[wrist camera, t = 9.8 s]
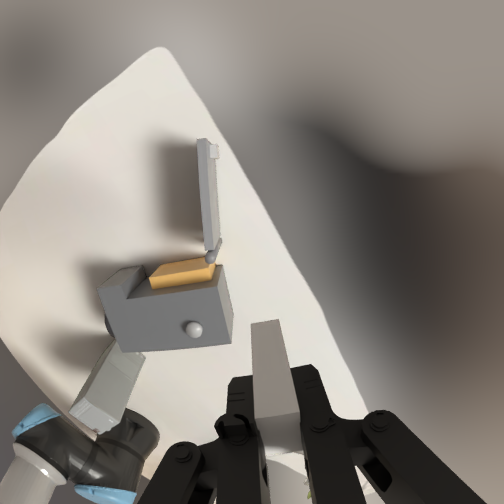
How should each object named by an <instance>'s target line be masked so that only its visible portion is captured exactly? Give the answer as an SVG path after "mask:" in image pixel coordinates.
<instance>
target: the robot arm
mask: <svg viewBox="0 0 504 504" xmlns="http://www.w3.org/2000/svg"><path fill="white" fill-rule="evenodd" d="M251 344H252V368H253V375H249V376H242V377H234V378H233V379H232V380H231V382H230V383H229V385H228V396H227V409H226V414H224V415H222V416H220V417H219V418H218V420H217V421H216V423H215V425H214V427H215V429H216V432H217V434H218V436H219V438H218V439H216V440H215V441H212V442H210V443H207V444H203V445H200V446H197V445H196V444H194V443H191V442H179V443H175V444H174V445H172V446H171V447H170V448H169V449H168V450H167V452H166V453H165V455H164V457H163V459H162V461H161V462H160V464H159V466H158V468H157V470H156V471H155V473H154V475H153V477H152V479H151V480H150V482H149V484H148V486H147V487H146V489H145V491H144V493H143V494H142V496H141V498H140V500H139V502H138V503H137V504H213V503H214V501H215V498H216V504H271V502H270V490H269V478H268V467H267V464H266V457H265V454H266V456H271V455H278V454H285V453H291V452H297V451H302V450H303V452H304V459H305V469H306V471H307V476H308V482H309V487H310V492H311V498H312V503H313V504H366V501H365V497H364V494H363V491H362V488H361V485H360V482H359V479H358V475H357V472H356V469H355V466H357V467H358V468H359V469H360V471H361V472H362V473H363V475H364V476H365V477H366V479H367V480H368V481H369V483H370V484H371V485H372V487H373V488H374V489H375V491H376V492H377V493H378V494H379V496H380V497H381V499H382V500H383V501H384V502H385V504H487V503H485V502H484V501H483V500H482V499H481V498H480V497H479V496H478V495H477V494H476V493H475V492H474V491H473V490H472V489H471V488H470V487H468V486H467V485H466V484H465V483H464V482H463V481H462V480H461V479H460V478H459V477H458V476H457V475H456V474H455V473H454V472H453V471H452V470H451V469H450V468H449V467H448V466H447V465H445V464H444V463H443V462H442V461H441V460H440V459H439V458H438V457H437V456H436V455H435V454H434V453H433V452H432V451H431V450H430V449H429V448H428V447H427V446H426V445H425V444H424V443H423V442H422V441H421V440H420V439H419V438H418V437H417V436H416V435H415V434H414V433H413V432H412V431H411V430H410V429H408V427H407V426H406V425H405V424H404V423H403V422H402V421H401V420H400V419H399V418H398V417H397V416H396V415H395V414H393V413H391V412H390V411H386V410H376V411H374V412H371V413H369V414H368V415H367V416H365V418H364V419H362V420H347V419H343V418H340V417H338V416H337V415H336V414H335V413H333V411H332V409H331V406H330V403H329V400H328V397H327V394H326V392H325V389H324V386H323V383H322V380H321V377H320V375H319V372H318V370H317V369H316V368H315V367H314V366H313V365H311V364H309V365H304V366H299V367H294V368H290V366H289V362H288V357H287V353H286V348H285V344H284V340H283V335H282V331H281V327H280V322H279V319H276V320H271V321H265V322H259V323H252V324H251ZM12 435H13V436H14V438H15V439H16V441H15V442H14V444H13V448H14V451H15V454H16V457H15V458H14V460H13V462H12V464H11V465H10V467H9V469H8V471H7V473H6V474H5V476H4V478H3V480H2V482H1V483H0V504H48V503H49V500H50V498H51V495H52V493H53V491H54V488H55V486H57V485H63V484H66V482H67V480H68V479H69V480H70V481H72V482H73V483H75V485H74V487H75V491H76V492H77V493H78V494H80V495H81V496H83V497H85V498H87V499H89V500H91V501H93V502H96V503H98V504H133V501H134V498H135V496H136V494H137V493H136V492H137V488H138V484H139V480H140V477H141V473H142V469H143V466H144V462H145V460H146V459H147V457H148V456H149V455H150V454H151V452H152V451H153V450H154V449H155V448H156V447H157V445H158V442H159V438H160V434H159V432H158V430H157V428H156V427H155V426H154V425H153V424H152V423H151V422H150V421H149V420H147V419H146V418H145V417H143V416H141V415H140V414H138V413H136V412H134V411H131V410H129V409H126V408H125V410H124V413H123V415H122V418H121V421H120V423H119V424H117V425H115V426H114V427H112V428H111V430H110V431H105V432H104V433H102V434H98V433H97V438H96V441H95V442H94V441H93V440H91V439H90V438H89V437H87V436H86V435H85V434H83V433H82V432H81V431H79V430H78V429H77V428H75V427H74V426H73V425H72V424H71V423H69V422H68V421H67V420H66V419H65V418H63V417H62V415H61V414H59V413H57V412H56V411H55V410H54V409H52V408H51V407H50V406H49V405H47V404H44V403H41V404H39V405H38V406H36V407H35V408H34V409H33V410H32V411H31V412H30V413H28V414H27V415H26V416H25V417H24V418H23V419H22V421H21V422H20V423H19V424H18V425H17V426H16V427H15V428H14V429H13V431H12Z"/></svg>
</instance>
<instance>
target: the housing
mask: <svg viewBox="0 0 504 504" xmlns="http://www.w3.org/2000/svg"><path fill="white" fill-rule="evenodd" d="M221 243H222V239H221V238H219V240H218V242H217V244H216V247H215V249H214V250H208V252H207V254H206V256H205V257H202V258H196V259H190V260H184V261H179V262H173V263H167V264H162V265H160V266H159V267H158V269H157V270H156V271H155V272H154V273H153V274H152V275H151V276H150V277H147V278H146V275H145V272H144V268H143V265H141V266H136V267H130V268H125V269H120V270H119V271H118V272H116V273H115V274H114V275H113V276H111V277H110V278H109V279H108V280H107V281H105V282H104V283H103V284H102V285H100V286H99V287H98V288H97V291H98V294H99V297H100V300H101V303H102V305H103V308H104V311H105V325H106V328H107V330H108V332H109V334H110V335H111V336H112V337H115V338H116V340H117V343H118V345H119V347H120V349H121V351H122V353H130V352H150V351H165V350H177V349H188V348H198V347H207V346H216V345H224V344H231V342H232V329H233V316H234V314H233V309H232V305H231V300H230V296H229V291H228V287H227V282H226V278H225V273H224V269H223V265H219V266H216V264H215V260H216V257H217V254H218V252H219V249H220V246H221Z"/></svg>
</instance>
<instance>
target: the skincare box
mask: <svg viewBox="0 0 504 504" xmlns="http://www.w3.org/2000/svg"><path fill="white" fill-rule="evenodd" d="M145 359H146V358H145V357H144V356H143V355H142V354H141V353H139V352H130V353H122V351H121V349H120V347H119V345H118V343H117V340H116V339H115V340H114V341H113V342H112V343H111V344H110V346H109V347H108V348H107V349H106V350H105V352H104V353H103V354H102V356H101V357H100V359H99V360H98V362H97V364H96V365H95V367H94V369H93V370H92V372H91V374H90V375H89V377H88V379H87V380H86V382H85V384H84V386H83V387H82V389H81V391H80V393H79V394H78V396H77V398H76V400H75V401H74V403H73V405H72V406H71V408H70V410H69V411H68V412H69V413H70V414H71V415H72V416H74V417H75V418H76V419H78V420H79V421H80V422H82V423H83V424H85V425H86V426H87V427H89V428H90V429H92V430H93V431H95V432H96V433H98V434H102V433H104V432H105V431H110V430H111V428H112V427H114V426H115V425H117V424H119V423H120V421H121V418H122V415H123V413H124V410H125V408H126V405H127V403H128V400H129V397H130V395H131V392H132V390H133V387H134V385H135V382H136V380H137V378H138V375H139V373H140V370H141V368H142V366H143V363H144V361H145Z"/></svg>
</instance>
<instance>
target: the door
mask: <svg viewBox="0 0 504 504" xmlns="http://www.w3.org/2000/svg"><path fill="white" fill-rule="evenodd" d="M197 155H198V172H199V187H200V200H201V213H202V225H203V236H204V246H205V251H206V250H214V249H215V247H216V244H217V242H218V240H219V238H220V222H219V208H218V194H217V179H216V163H215V159H219V146H218V145H217V144H211V143H210V142H209V141H208V140H207V139H206V138H203V139H197Z"/></svg>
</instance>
